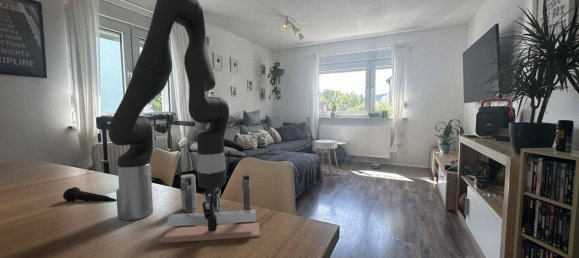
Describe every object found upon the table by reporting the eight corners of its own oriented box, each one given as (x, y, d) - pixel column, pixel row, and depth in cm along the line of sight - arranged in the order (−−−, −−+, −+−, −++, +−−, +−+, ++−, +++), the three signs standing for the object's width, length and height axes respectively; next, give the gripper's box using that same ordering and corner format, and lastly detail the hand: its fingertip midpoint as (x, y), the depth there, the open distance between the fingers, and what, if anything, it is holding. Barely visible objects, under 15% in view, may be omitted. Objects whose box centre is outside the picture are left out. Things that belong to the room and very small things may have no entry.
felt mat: (160, 243, 64) (160, 240, 64) (170, 230, 71) (170, 228, 71) (259, 236, 67) (259, 234, 67) (259, 224, 74) (259, 222, 74)
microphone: (118, 207, 96) (69, 200, 96) (122, 192, 97) (74, 186, 98) (108, 208, 91) (56, 201, 91) (113, 192, 92) (61, 186, 92)
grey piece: (191, 211, 84) (190, 177, 83) (178, 210, 85) (177, 177, 84) (199, 206, 89) (198, 174, 88) (187, 205, 89) (186, 173, 89)
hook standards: (176, 228, 72) (174, 182, 71) (183, 219, 78) (181, 176, 77) (254, 223, 75) (253, 179, 74) (254, 215, 81) (254, 174, 80)
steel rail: (167, 226, 66) (167, 218, 66) (170, 222, 69) (170, 214, 69) (255, 221, 69) (255, 213, 69) (256, 217, 72) (255, 209, 71)
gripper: (203, 163, 74) (205, 217, 76) (190, 175, 60) (193, 242, 62) (228, 162, 75) (229, 216, 76) (221, 174, 61) (223, 240, 63)
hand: (213, 227), depth 69 cm, fingers closed on steel rail, 2 cm apart
